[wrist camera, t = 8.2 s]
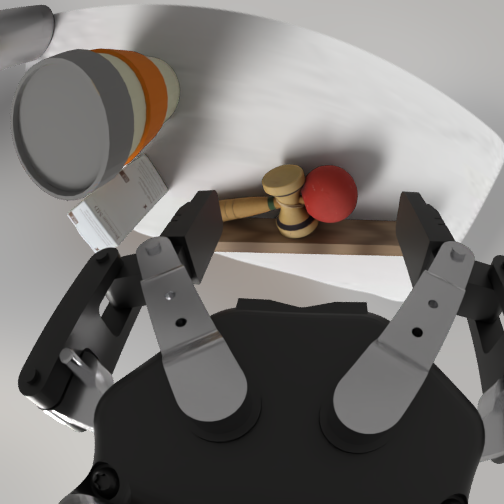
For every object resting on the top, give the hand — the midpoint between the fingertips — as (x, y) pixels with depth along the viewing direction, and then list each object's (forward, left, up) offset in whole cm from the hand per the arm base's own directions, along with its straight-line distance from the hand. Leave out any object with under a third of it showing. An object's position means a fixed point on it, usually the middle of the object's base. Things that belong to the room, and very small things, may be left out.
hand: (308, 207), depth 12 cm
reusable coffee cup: (-18, +5, -19) cm, 27 cm away
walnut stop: (0, -13, -19) cm, 23 cm away
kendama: (-4, -9, -20) cm, 22 cm away
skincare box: (-21, -6, -19) cm, 29 cm away
